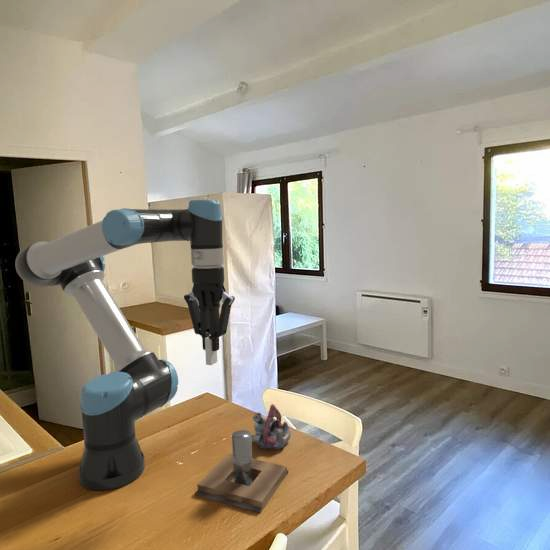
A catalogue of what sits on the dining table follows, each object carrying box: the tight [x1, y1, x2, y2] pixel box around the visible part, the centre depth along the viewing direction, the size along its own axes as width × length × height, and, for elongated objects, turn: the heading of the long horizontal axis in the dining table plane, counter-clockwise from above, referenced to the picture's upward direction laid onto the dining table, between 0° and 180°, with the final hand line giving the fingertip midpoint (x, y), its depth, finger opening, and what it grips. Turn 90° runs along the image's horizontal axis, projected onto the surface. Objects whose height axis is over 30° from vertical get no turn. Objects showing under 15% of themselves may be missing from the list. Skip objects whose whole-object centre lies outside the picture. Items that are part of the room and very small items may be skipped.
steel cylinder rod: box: [231, 429, 254, 486], centre depth 100 cm, size 4×4×12 cm
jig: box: [195, 452, 289, 514], centre depth 100 cm, size 16×16×2 cm
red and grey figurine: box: [251, 403, 292, 450], centre depth 119 cm, size 11×11×12 cm
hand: (211, 363), depth 105 cm, fingers closed
